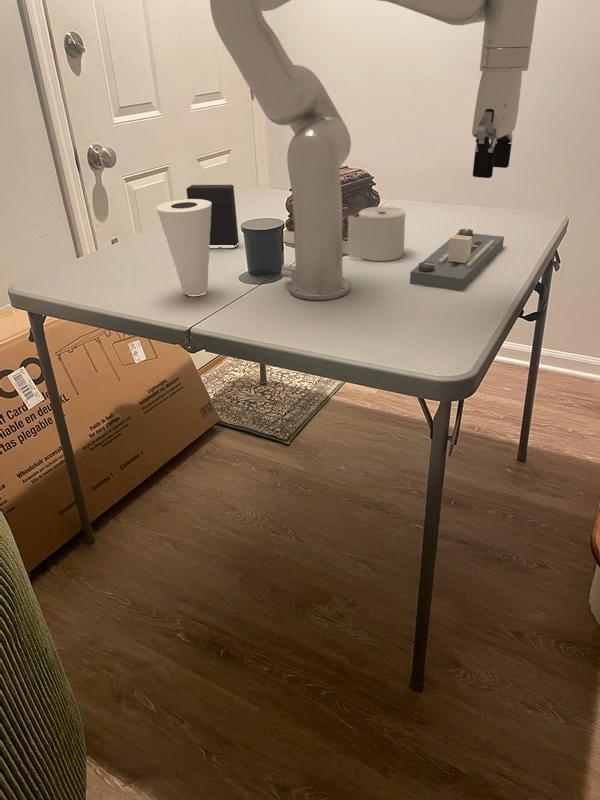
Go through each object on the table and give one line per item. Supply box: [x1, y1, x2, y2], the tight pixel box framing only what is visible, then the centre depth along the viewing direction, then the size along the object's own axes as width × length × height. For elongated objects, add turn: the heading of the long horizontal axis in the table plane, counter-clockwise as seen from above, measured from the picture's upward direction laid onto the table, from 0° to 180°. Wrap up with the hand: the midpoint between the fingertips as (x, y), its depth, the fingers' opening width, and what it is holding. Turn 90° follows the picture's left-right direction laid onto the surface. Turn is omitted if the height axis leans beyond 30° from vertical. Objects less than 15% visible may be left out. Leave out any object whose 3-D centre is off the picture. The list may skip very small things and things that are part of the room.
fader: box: [448, 234, 472, 263], centre depth 131 cm, size 4×2×5 cm, turn 60°
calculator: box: [186, 184, 240, 246], centre depth 155 cm, size 11×4×15 cm, turn 80°
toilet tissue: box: [347, 206, 406, 262], centre depth 144 cm, size 11×12×10 cm
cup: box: [156, 198, 212, 295], centre depth 125 cm, size 11×11×18 cm
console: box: [409, 228, 505, 292], centre depth 138 cm, size 11×32×4 cm, turn 150°
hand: (490, 171), depth 108 cm, fingers open, 9 cm apart
